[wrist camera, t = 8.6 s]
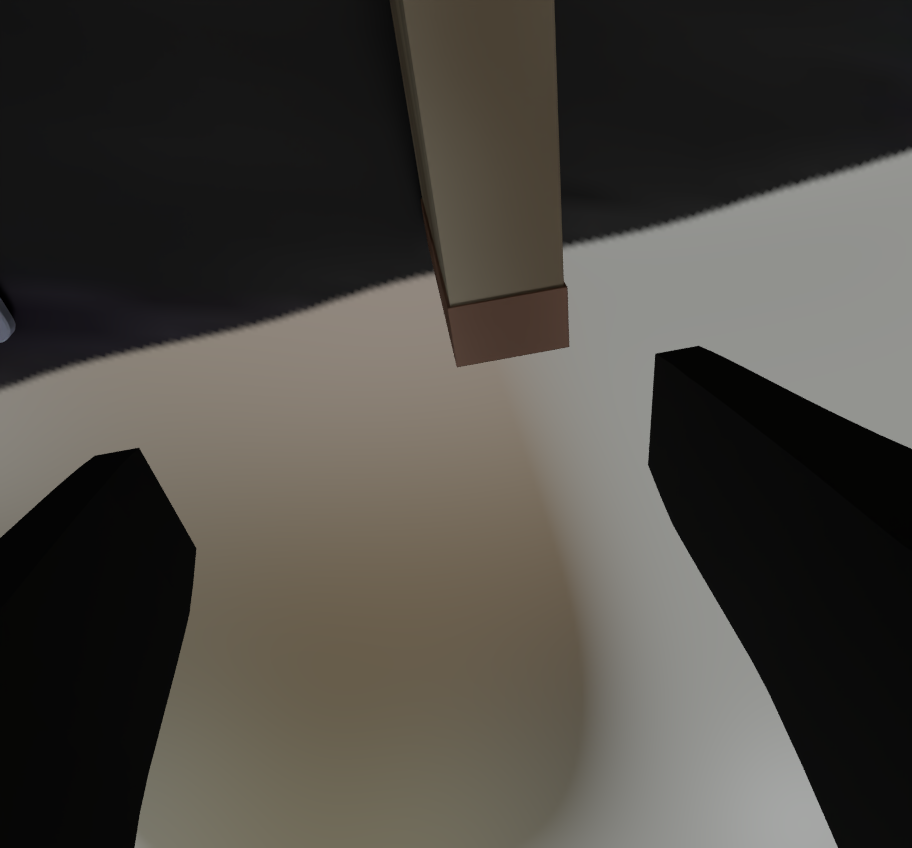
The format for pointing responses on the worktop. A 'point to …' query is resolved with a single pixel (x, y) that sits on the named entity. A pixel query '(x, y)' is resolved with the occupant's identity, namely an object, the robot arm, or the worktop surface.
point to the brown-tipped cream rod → (488, 168)
